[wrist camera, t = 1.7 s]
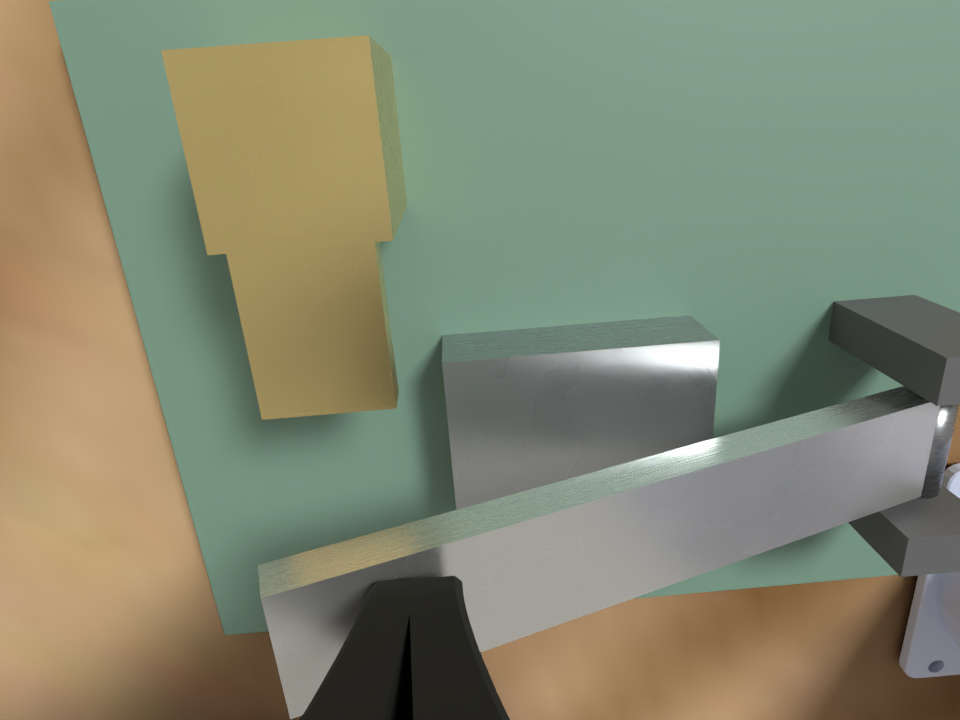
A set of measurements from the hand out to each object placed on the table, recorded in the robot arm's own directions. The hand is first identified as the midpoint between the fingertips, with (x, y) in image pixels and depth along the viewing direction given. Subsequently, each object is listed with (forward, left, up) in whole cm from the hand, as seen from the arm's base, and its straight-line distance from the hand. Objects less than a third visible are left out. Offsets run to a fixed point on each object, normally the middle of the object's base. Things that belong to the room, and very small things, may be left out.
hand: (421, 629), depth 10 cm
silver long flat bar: (-4, 0, -3) cm, 5 cm away
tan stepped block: (+1, -6, -7) cm, 9 cm away
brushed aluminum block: (-4, 0, -7) cm, 8 cm away
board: (-4, -2, -8) cm, 9 cm away
